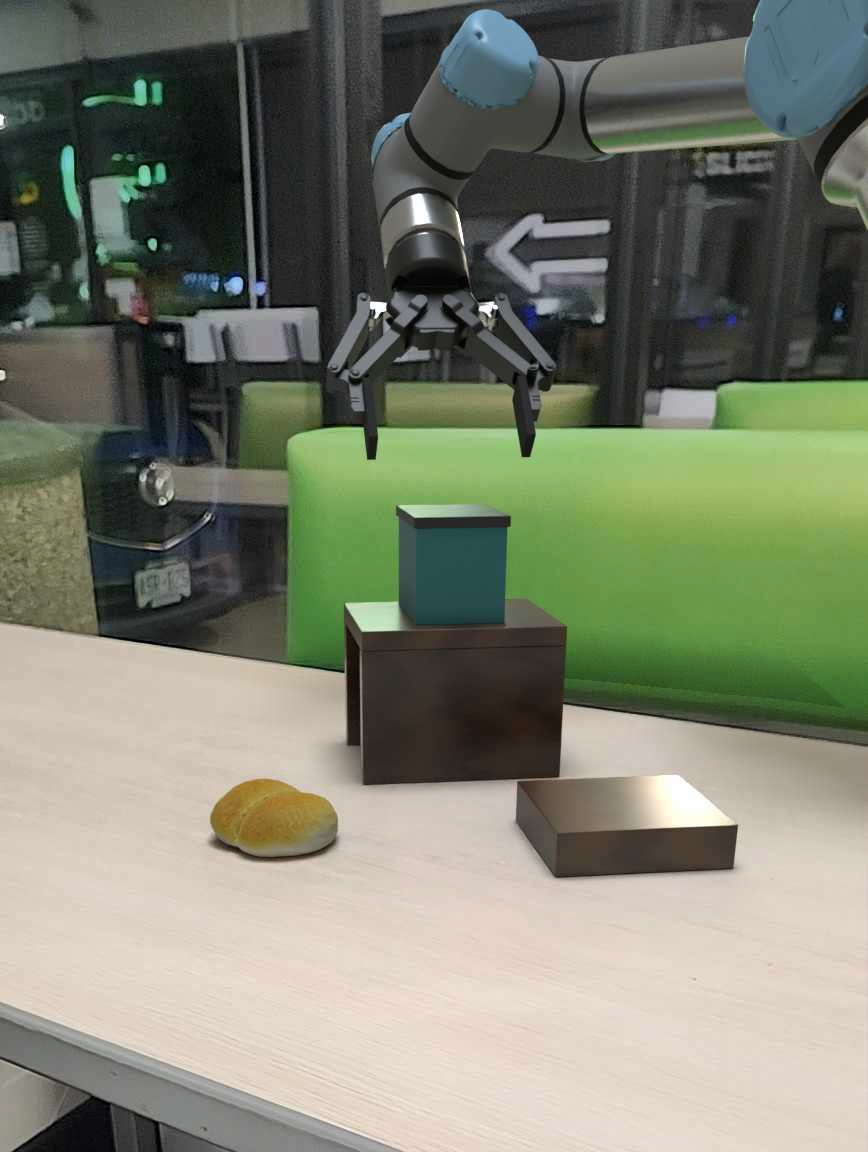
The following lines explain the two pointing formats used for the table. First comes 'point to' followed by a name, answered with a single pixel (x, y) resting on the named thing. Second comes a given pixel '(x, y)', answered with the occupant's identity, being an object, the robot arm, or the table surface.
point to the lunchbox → (452, 563)
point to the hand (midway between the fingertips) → (451, 447)
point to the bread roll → (273, 819)
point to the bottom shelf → (624, 825)
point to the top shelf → (454, 694)
